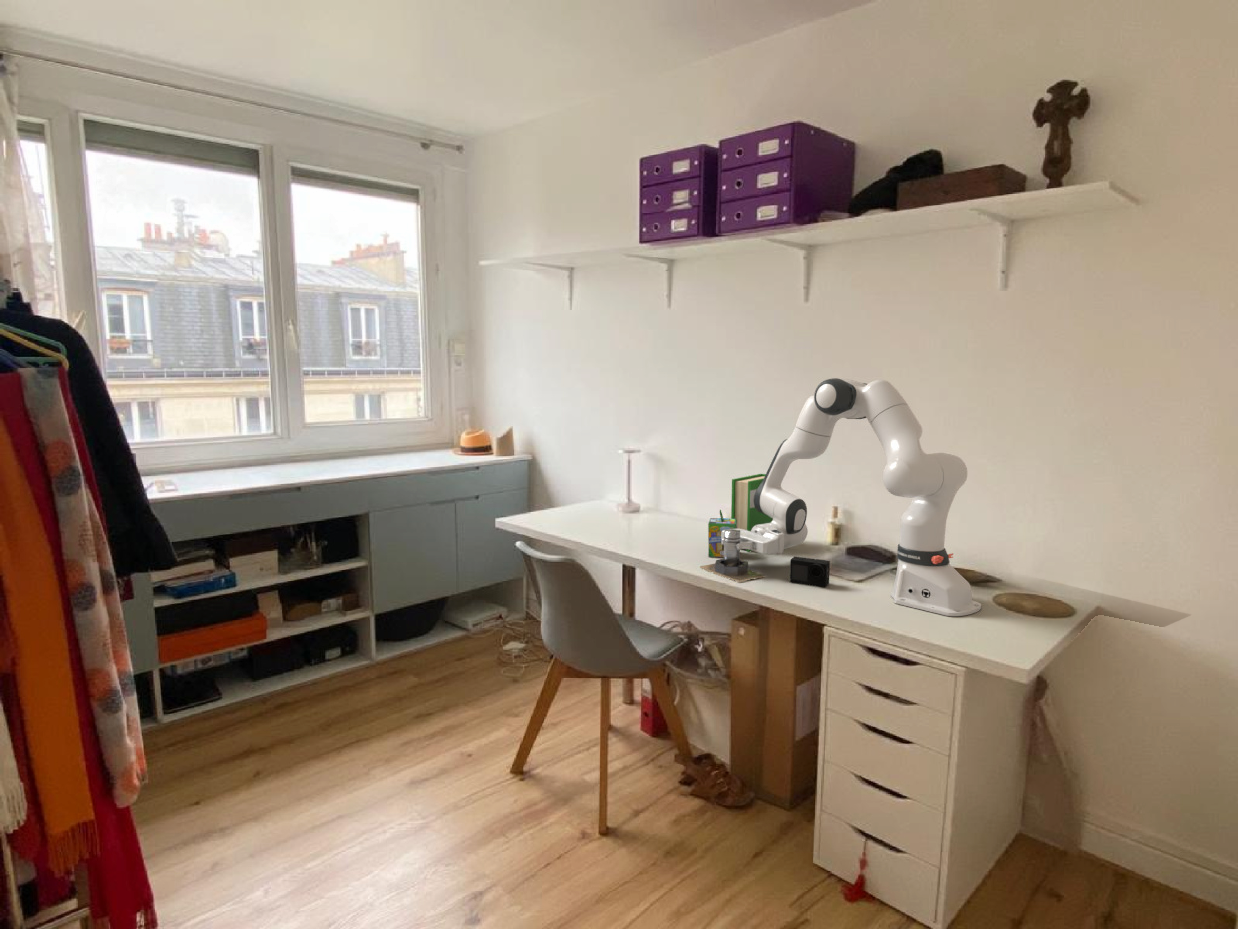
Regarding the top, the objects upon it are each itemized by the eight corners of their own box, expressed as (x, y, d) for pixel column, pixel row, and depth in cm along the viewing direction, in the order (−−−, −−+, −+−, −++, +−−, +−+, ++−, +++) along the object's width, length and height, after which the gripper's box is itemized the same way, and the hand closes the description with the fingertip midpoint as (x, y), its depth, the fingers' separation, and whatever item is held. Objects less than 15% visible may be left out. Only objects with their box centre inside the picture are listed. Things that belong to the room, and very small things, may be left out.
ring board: (764, 577, 217) (764, 567, 217) (739, 582, 212) (739, 572, 212) (724, 563, 232) (724, 554, 232) (699, 568, 227) (699, 558, 226)
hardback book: (748, 552, 246) (750, 481, 243) (730, 548, 251) (731, 479, 248) (777, 543, 259) (779, 475, 256) (759, 539, 264) (760, 473, 261)
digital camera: (787, 583, 211) (788, 560, 210) (793, 579, 216) (794, 555, 215) (824, 589, 206) (825, 565, 205) (829, 584, 211) (829, 560, 210)
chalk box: (735, 558, 238) (736, 514, 236) (707, 557, 240) (708, 513, 238) (737, 551, 247) (738, 508, 245) (709, 550, 249) (710, 507, 247)
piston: (743, 570, 221) (743, 531, 220) (730, 573, 219) (731, 533, 217) (732, 566, 225) (733, 528, 224) (720, 569, 223) (720, 530, 221)
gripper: (741, 522, 236) (707, 527, 229) (787, 534, 219) (753, 540, 212) (740, 541, 237) (707, 547, 230) (787, 555, 220) (752, 561, 213)
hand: (729, 544), depth 220 cm, fingers closed on piston, 5 cm apart
